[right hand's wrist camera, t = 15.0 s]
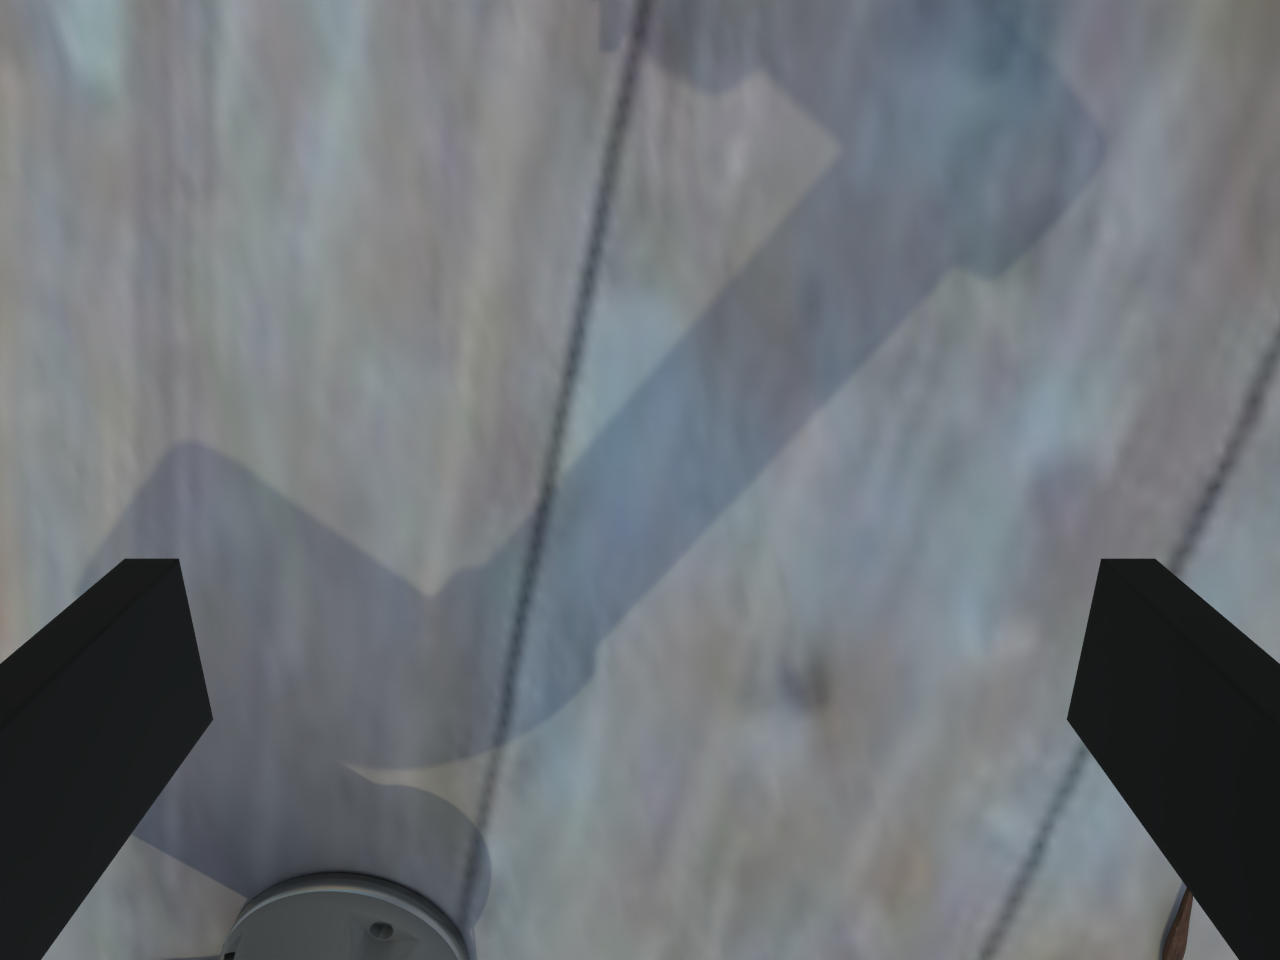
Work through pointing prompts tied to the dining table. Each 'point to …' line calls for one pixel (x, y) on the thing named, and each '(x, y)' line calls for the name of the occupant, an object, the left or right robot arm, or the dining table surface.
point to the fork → (1179, 930)
